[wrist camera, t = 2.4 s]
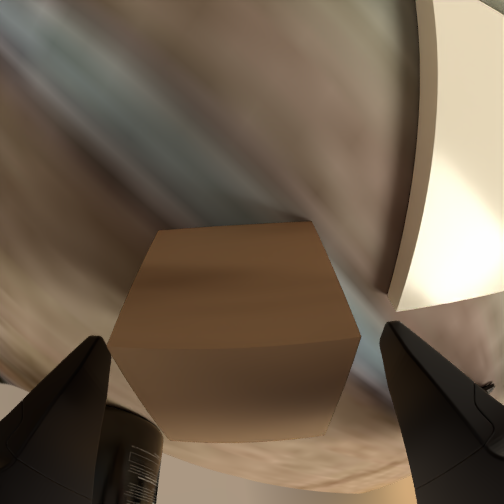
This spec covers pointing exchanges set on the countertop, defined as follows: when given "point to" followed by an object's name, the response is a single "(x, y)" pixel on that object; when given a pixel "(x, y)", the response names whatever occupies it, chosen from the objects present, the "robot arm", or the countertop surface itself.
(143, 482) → the supplement bottle
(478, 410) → the robot arm
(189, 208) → the countertop surface
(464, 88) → the coaster
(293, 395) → the cube
